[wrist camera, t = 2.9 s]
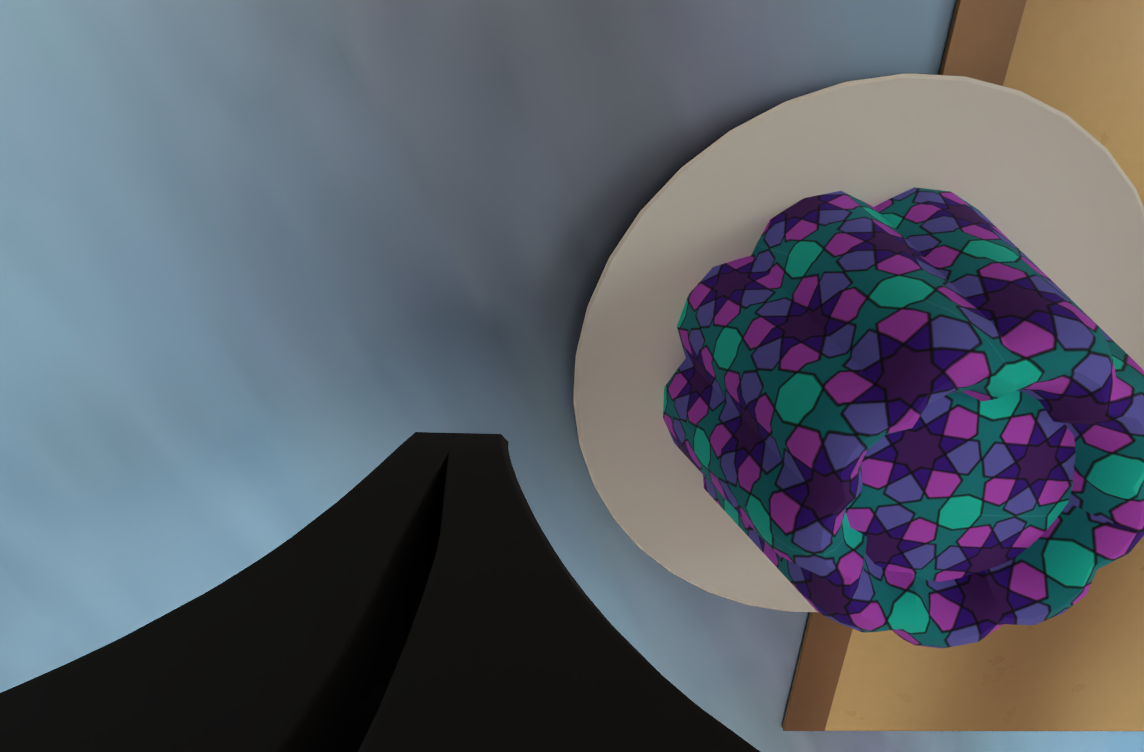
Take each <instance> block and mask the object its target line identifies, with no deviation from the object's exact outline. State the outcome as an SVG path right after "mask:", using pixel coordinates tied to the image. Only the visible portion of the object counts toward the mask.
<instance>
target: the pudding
mask: <svg viewBox="0 0 1144 752" xmlns="http://www.w3.org/2000/svg"><path fill="white" fill-rule="evenodd" d="M573 403H574V410H575V417H576V424H577V431H578V438H579V445H580V448H581V451H582V454H583V456H584V459H585V462H586V465H587V468H588V471H589V473H590V476H591V479H592V482H593V485H594V486H595V488H596V490H597V491H598V493H599V495H600V496H601V498H602V500H603V501H604V503H605V505H606V507H607V508H608V510H609V512H610V513H611V515H612V517H613V518H614V520H615V521H616V522H617V523H618V524H619V525H620V527H621V528H622V529H623V530H624V531H625V532H626V533H627V534H628V535H629V537H630V538H631V539H632V540H633V541H634V542H635V543H636V544H637V545H638V547H639V548H640V549H641V550H642V551H644V552H645V553H646V554H648V555H649V556H650V557H652V558H653V559H654V560H655V561H657V562H658V563H659V564H661V565H662V566H663V567H665V568H666V569H667V570H669V571H670V572H671V573H672V574H674V575H676V576H678V577H680V578H682V579H684V580H686V581H688V582H690V583H692V584H694V585H695V586H697V587H699V588H701V589H703V590H705V591H707V592H709V593H712V594H716V595H719V596H722V597H725V598H728V599H731V600H734V601H737V602H740V603H743V604H746V605H751V606H757V607H763V608H769V609H775V610H781V611H787V612H819V613H821V614H822V615H823V616H825V617H827V618H829V619H831V620H833V621H835V622H837V623H840V624H842V625H845V626H847V627H850V628H852V629H855V630H857V631H860V632H863V633H866V632H880V631H888V630H892V631H893V632H894V633H896V634H897V635H898V636H899V637H901V638H902V639H903V640H905V641H907V642H909V643H911V644H913V645H916V646H925V647H934V648H949V647H954V646H959V645H965V644H970V643H975V642H979V641H980V640H982V639H983V638H985V637H986V636H988V635H989V634H991V633H992V632H993V631H995V630H996V629H998V628H999V627H1001V626H1002V625H1004V624H1006V625H1036V624H1038V623H1041V622H1043V621H1046V620H1048V619H1050V618H1053V617H1055V616H1058V615H1060V614H1063V613H1064V612H1065V611H1066V610H1068V609H1069V608H1070V607H1072V606H1073V605H1074V604H1075V603H1077V602H1078V601H1079V600H1081V599H1082V598H1083V597H1084V596H1086V595H1087V592H1088V590H1089V587H1090V585H1091V583H1092V580H1093V578H1094V576H1095V573H1096V571H1097V569H1099V568H1101V567H1103V566H1105V565H1107V564H1109V563H1111V562H1113V561H1115V560H1117V559H1119V558H1121V557H1123V556H1125V555H1127V554H1129V553H1130V552H1131V550H1132V549H1133V548H1134V547H1135V546H1136V544H1137V543H1138V542H1139V541H1140V540H1141V538H1142V537H1143V536H1144V207H1143V204H1142V202H1141V199H1140V197H1139V195H1138V192H1137V190H1136V188H1135V186H1134V185H1133V184H1132V182H1131V181H1130V180H1129V178H1128V177H1127V175H1126V174H1125V173H1124V171H1123V170H1122V169H1121V167H1120V166H1119V164H1118V163H1117V162H1116V160H1115V159H1114V158H1113V156H1112V155H1111V153H1110V152H1109V151H1108V149H1107V148H1106V147H1105V146H1103V145H1102V144H1101V143H1100V142H1099V141H1098V140H1096V139H1095V138H1094V137H1093V136H1092V135H1091V134H1089V133H1088V132H1087V131H1086V130H1085V129H1083V128H1082V127H1081V126H1080V125H1079V124H1078V123H1076V122H1075V121H1074V120H1073V119H1072V118H1071V117H1069V116H1068V115H1066V114H1064V113H1063V112H1061V111H1059V110H1057V109H1055V108H1053V107H1051V106H1049V105H1047V104H1045V103H1043V102H1041V101H1039V100H1037V99H1035V98H1033V97H1031V96H1029V95H1027V94H1025V93H1023V92H1022V91H1019V90H1015V89H1011V88H1008V87H1004V86H1000V85H996V84H992V83H988V82H985V81H981V80H977V79H973V78H969V77H965V76H946V75H927V74H907V73H906V74H898V75H891V76H884V77H877V78H870V79H863V80H855V81H848V82H843V83H840V84H837V85H834V86H831V87H828V88H825V89H822V90H819V91H816V92H813V93H810V94H807V95H804V96H800V97H797V98H794V99H791V100H788V101H785V102H783V103H781V104H780V105H778V106H776V107H774V108H772V109H770V110H768V111H766V112H764V113H763V114H761V115H759V116H757V117H755V118H753V119H751V120H749V121H747V122H745V123H744V124H742V125H740V126H738V127H736V128H734V129H732V130H730V131H729V132H728V133H726V134H725V135H724V136H722V137H721V138H720V139H718V140H717V141H716V142H714V143H713V144H712V145H710V146H709V147H708V148H707V149H705V150H704V151H703V152H701V153H700V154H699V155H697V156H696V157H695V158H693V159H692V160H691V161H689V162H688V163H687V164H685V165H684V166H683V167H682V168H680V170H679V171H678V172H677V173H676V174H675V175H674V176H673V177H672V178H671V179H670V180H669V181H668V182H667V183H666V184H665V185H664V186H663V188H662V189H661V190H660V191H659V192H658V193H657V194H656V195H655V196H654V197H653V198H652V199H651V200H650V201H649V202H648V203H647V205H646V206H645V207H644V208H643V209H642V210H641V211H640V212H639V214H638V215H637V217H636V218H635V220H634V221H633V223H632V224H631V226H630V227H629V229H628V230H627V232H626V233H625V235H624V236H623V238H622V239H621V241H620V242H619V244H618V245H617V247H616V248H615V250H614V251H613V253H612V254H611V256H610V257H609V259H608V261H607V264H606V266H605V268H604V270H603V273H602V275H601V277H600V279H599V282H598V284H597V286H596V288H595V291H594V293H593V295H592V297H591V300H590V302H589V304H588V306H587V310H586V314H585V319H584V323H583V327H582V331H581V335H580V339H579V343H578V347H577V352H576V358H575V378H574V397H573Z"/></svg>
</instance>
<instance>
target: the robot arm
mask: <svg viewBox="0 0 1144 752" xmlns="http://www.w3.org/2000/svg"><path fill="white" fill-rule="evenodd" d="M0 752H760V751H758V750H757V749H756V748H754V747H753V746H752V745H750V744H749V743H748V742H746V741H745V740H743V739H742V738H741V737H739V736H738V735H737V734H735V733H734V732H733V731H731V730H730V729H728V728H727V727H726V726H724V725H723V724H722V723H720V722H719V721H717V720H716V719H715V718H713V717H712V716H711V715H709V714H708V713H707V712H705V711H704V710H702V709H701V708H700V707H699V706H697V705H696V704H695V703H694V702H692V701H691V700H690V699H689V698H688V697H687V696H685V695H684V694H683V693H682V692H681V691H680V690H678V689H677V688H676V687H675V686H674V685H673V684H671V683H670V682H669V681H668V680H667V679H666V678H664V677H663V676H662V675H661V674H660V673H659V672H658V671H657V670H656V669H655V668H654V667H653V666H652V665H651V664H650V663H649V662H648V661H647V660H646V659H645V658H644V657H643V656H642V655H641V654H640V653H639V652H638V651H637V650H636V649H635V648H634V647H633V646H632V645H631V644H630V643H629V642H628V641H627V640H626V639H625V638H624V637H623V636H622V635H621V634H620V633H619V632H618V631H617V630H616V629H615V628H614V627H613V626H612V625H611V623H610V622H609V621H608V620H607V619H606V618H605V616H604V615H603V614H602V613H601V612H600V611H599V609H598V608H597V607H596V606H595V605H594V604H593V602H592V601H591V600H590V599H589V598H588V596H587V595H586V594H585V593H584V591H583V590H582V589H581V587H580V586H579V585H578V583H577V582H576V581H575V580H574V578H573V577H572V576H571V574H570V573H569V571H568V570H567V569H566V567H565V566H564V564H563V563H562V561H561V560H560V558H559V557H558V555H557V554H556V552H555V551H554V549H553V547H552V546H551V544H550V543H549V541H548V539H547V538H546V536H545V534H544V533H543V531H542V529H541V528H540V526H539V524H538V522H537V520H536V519H535V517H534V515H533V513H532V511H531V509H530V507H529V505H528V503H527V500H526V498H525V496H524V494H523V492H522V490H521V488H520V485H519V483H518V481H517V478H516V475H515V472H514V470H513V467H512V464H511V460H510V456H509V451H508V441H507V440H506V439H505V438H504V437H503V436H502V435H501V434H470V433H428V432H415V433H414V434H413V435H412V436H411V437H410V438H408V439H407V440H406V441H405V442H404V443H403V444H402V445H400V446H399V447H398V448H397V449H396V450H395V451H394V452H393V453H392V454H391V455H390V456H388V457H387V458H386V459H385V460H384V461H383V462H382V463H381V464H380V465H379V466H378V467H377V468H375V469H374V470H373V471H372V472H371V473H370V474H369V475H368V476H367V477H366V478H364V479H363V480H362V481H361V482H360V483H359V484H358V485H356V486H355V487H354V488H353V489H352V490H351V491H349V492H348V493H347V494H346V495H345V496H344V497H343V498H341V499H340V500H339V501H338V502H337V503H335V504H334V505H333V506H332V507H330V508H329V509H328V510H326V511H325V512H324V513H322V514H321V515H320V516H319V517H317V518H316V519H315V520H313V521H312V522H311V523H310V524H308V525H307V526H306V527H304V528H303V529H302V530H301V531H299V532H298V533H297V534H295V535H294V536H293V537H292V538H290V539H289V540H287V541H286V542H284V543H283V544H282V545H280V546H279V547H277V548H276V549H274V550H273V551H272V552H270V553H269V554H267V555H266V556H264V557H263V558H261V559H260V560H258V561H257V562H255V563H253V564H252V565H250V566H249V567H247V568H245V569H244V570H242V571H241V572H239V573H237V574H236V575H234V576H233V577H231V578H230V579H228V580H226V581H225V582H223V583H222V584H220V585H218V586H216V587H215V588H213V589H211V590H210V591H208V592H206V593H205V594H203V595H201V596H199V597H197V598H195V599H193V600H192V601H190V602H188V603H186V604H184V605H182V606H180V607H178V608H177V609H175V610H173V611H171V612H169V613H167V614H165V615H164V616H162V617H160V618H158V619H156V620H154V621H152V622H151V623H149V624H147V625H145V626H143V627H141V628H139V629H138V630H136V631H134V632H132V633H130V634H128V635H126V636H124V637H122V638H120V639H118V640H116V641H114V642H112V643H110V644H108V645H106V646H104V647H102V648H100V649H97V650H95V651H93V652H91V653H89V654H87V655H85V656H83V657H80V658H78V659H76V660H74V661H72V662H70V663H68V664H66V665H63V666H61V667H59V668H57V669H54V670H52V671H50V672H48V673H45V674H43V675H41V676H38V677H36V678H34V679H32V680H29V681H27V682H25V683H23V684H20V685H18V686H16V687H13V688H11V689H9V690H7V691H4V692H2V693H0Z"/></svg>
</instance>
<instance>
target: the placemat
mask: <svg viewBox="0 0 1144 752" xmlns="http://www.w3.org/2000/svg"><path fill="white" fill-rule="evenodd" d="M939 75H946V76H965V77H969V78H973V79H977V80H981V81H985V82H988V83H992V84H996V85H1000V86H1004V87H1008V88H1011V89H1015V90H1019V91H1022V92H1023V93H1025V94H1027V95H1029V96H1031V97H1033V98H1035V99H1037V100H1039V101H1041V102H1043V103H1045V104H1047V105H1049V106H1051V107H1053V108H1055V109H1057V110H1059V111H1061V112H1063V113H1064V114H1066V115H1068V116H1069V117H1071V118H1072V119H1073V120H1074V121H1075V122H1076V123H1078V124H1079V125H1080V126H1081V127H1082V128H1083V129H1085V130H1086V131H1087V132H1088V133H1089V134H1091V135H1092V136H1093V137H1094V138H1095V139H1096V140H1098V141H1099V142H1100V143H1101V144H1102V145H1103V146H1105V147H1106V148H1107V149H1108V151H1109V152H1110V153H1111V155H1112V156H1113V158H1114V159H1115V160H1116V162H1117V163H1118V164H1119V166H1120V167H1121V169H1122V170H1123V171H1124V173H1125V174H1126V175H1127V177H1128V178H1129V180H1130V181H1131V182H1132V184H1133V185H1134V186H1135V188H1136V190H1137V192H1138V195H1139V197H1140V199H1141V202H1142V204H1143V207H1144V0H957V3H956V7H955V11H954V15H953V19H952V23H951V28H950V32H949V36H948V40H947V44H946V48H945V52H944V57H943V61H942V65H941V69H940V73H939ZM782 728H783V731H1144V536H1143V537H1142V538H1141V540H1140V541H1139V542H1138V543H1137V544H1136V546H1135V547H1134V548H1133V549H1132V550H1131V552H1130V553H1129V554H1127V555H1125V556H1123V557H1121V558H1119V559H1117V560H1115V561H1113V562H1111V563H1109V564H1107V565H1105V566H1103V567H1101V568H1099V569H1097V571H1096V573H1095V576H1094V578H1093V580H1092V583H1091V585H1090V587H1089V590H1088V592H1087V595H1086V596H1084V597H1083V598H1082V599H1081V600H1079V601H1078V602H1077V603H1075V604H1074V605H1073V606H1072V607H1070V608H1069V609H1068V610H1066V611H1065V612H1064V613H1063V614H1060V615H1058V616H1055V617H1053V618H1050V619H1048V620H1046V621H1043V622H1041V623H1038V624H1036V625H1006V624H1004V625H1002V626H1001V627H999V628H998V629H996V630H995V631H993V632H992V633H991V634H989V635H988V636H986V637H985V638H983V639H982V640H980V641H979V642H975V643H970V644H965V645H959V646H954V647H949V648H934V647H925V646H916V645H913V644H911V643H909V642H907V641H905V640H903V639H902V638H901V637H899V636H898V635H897V634H896V633H894V632H893V631H892V630H888V631H880V632H866V633H863V632H860V631H857V630H855V629H852V628H850V627H847V626H845V625H842V624H840V623H837V622H835V621H833V620H831V619H829V618H827V617H825V616H823V615H822V614H821V613H819V612H810V613H809V617H808V621H807V626H806V630H805V634H804V638H803V642H802V646H801V650H800V655H799V659H798V663H797V667H796V671H795V675H794V679H793V684H792V688H791V692H790V696H789V700H788V704H787V709H786V713H785V717H784V721H783V725H782Z"/></svg>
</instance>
